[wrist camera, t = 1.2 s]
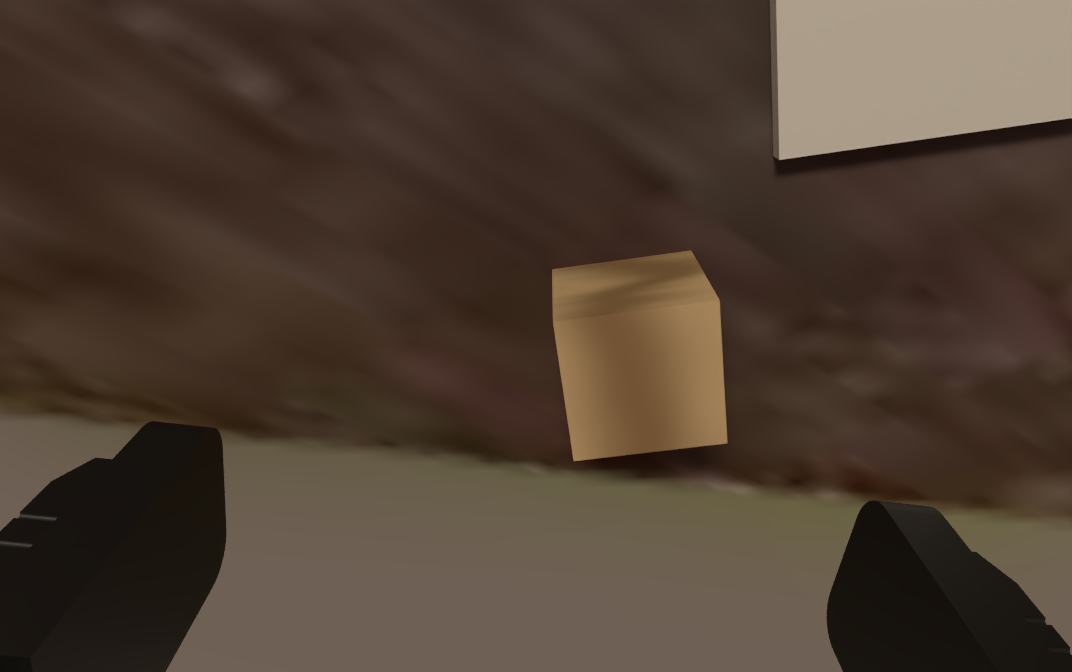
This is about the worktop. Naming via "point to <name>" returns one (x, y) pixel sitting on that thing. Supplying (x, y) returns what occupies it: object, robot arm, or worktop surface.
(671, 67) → the worktop surface
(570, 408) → the maple block
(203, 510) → the robot arm
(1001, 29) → the plate
